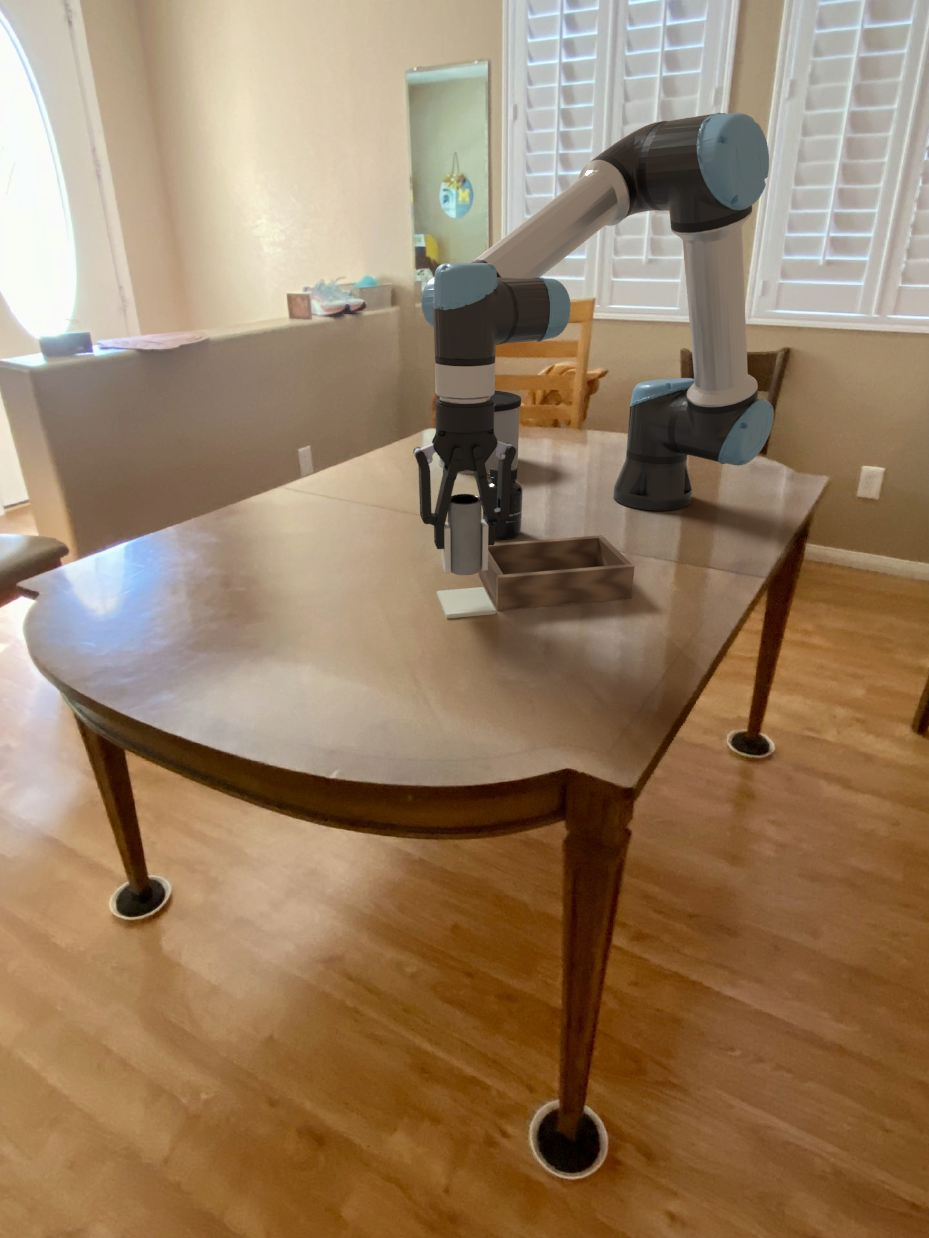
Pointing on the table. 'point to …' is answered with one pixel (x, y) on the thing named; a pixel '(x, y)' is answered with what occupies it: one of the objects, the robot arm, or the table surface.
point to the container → (503, 425)
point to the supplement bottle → (513, 523)
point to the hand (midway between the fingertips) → (464, 567)
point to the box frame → (556, 572)
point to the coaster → (465, 602)
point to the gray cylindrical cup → (465, 533)
